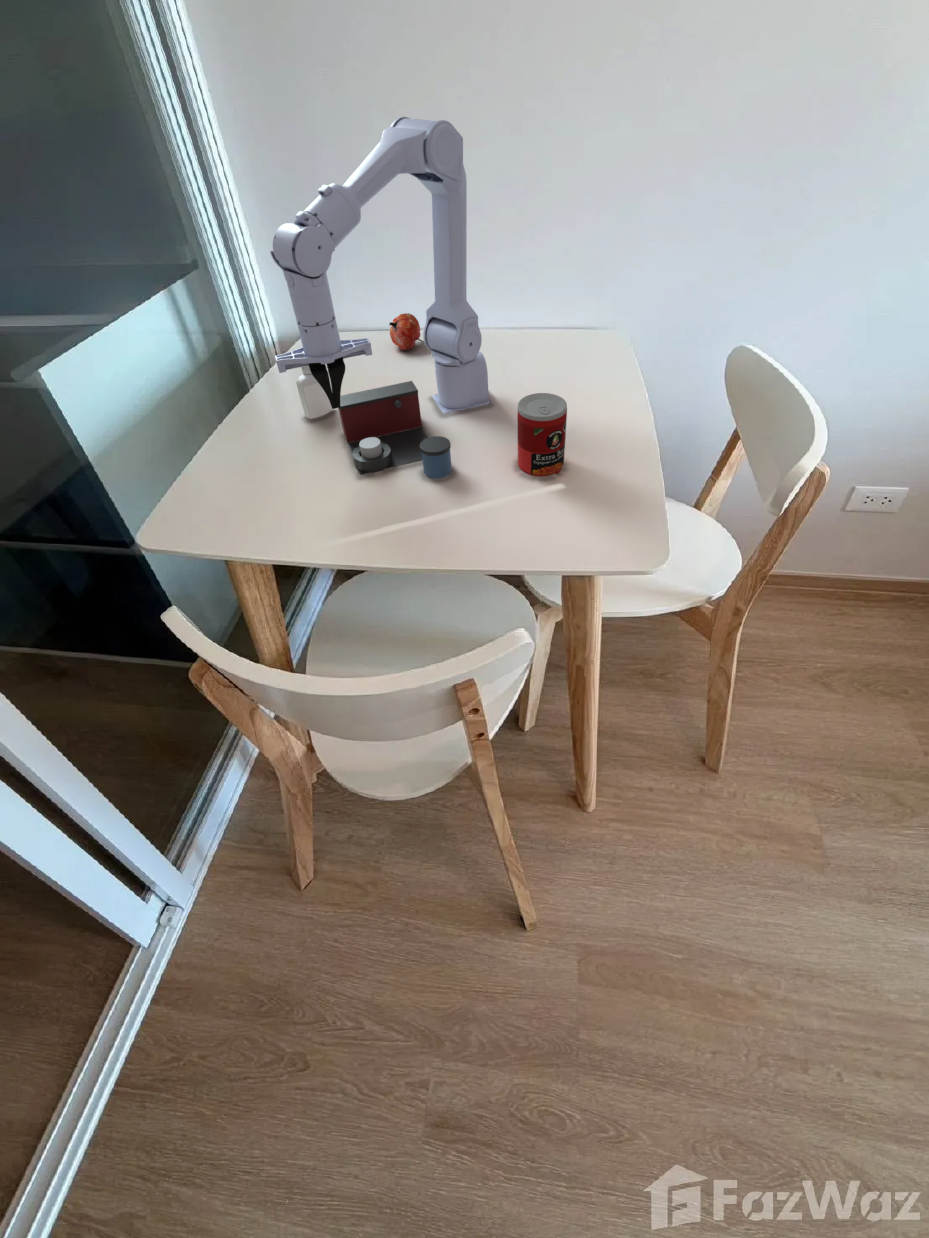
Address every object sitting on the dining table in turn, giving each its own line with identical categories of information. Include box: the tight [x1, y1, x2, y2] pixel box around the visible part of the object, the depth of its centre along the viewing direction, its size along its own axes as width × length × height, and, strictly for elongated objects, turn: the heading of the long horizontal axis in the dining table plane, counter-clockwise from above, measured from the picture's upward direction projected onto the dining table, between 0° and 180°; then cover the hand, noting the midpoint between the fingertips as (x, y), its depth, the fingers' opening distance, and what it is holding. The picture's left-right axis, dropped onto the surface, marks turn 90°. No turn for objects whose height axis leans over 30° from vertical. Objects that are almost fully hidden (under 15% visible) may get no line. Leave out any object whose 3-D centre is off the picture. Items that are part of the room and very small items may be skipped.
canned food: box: [516, 392, 568, 477], centre depth 100 cm, size 8×8×11 cm
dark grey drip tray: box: [347, 426, 429, 476], centre depth 109 cm, size 11×14×3 cm
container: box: [420, 435, 453, 479], centre depth 102 cm, size 5×5×6 cm
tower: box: [337, 380, 423, 444], centre depth 112 cm, size 5×14×8 cm, turn 108°
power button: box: [359, 437, 382, 458], centre depth 105 cm, size 4×4×2 cm
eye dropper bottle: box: [296, 366, 334, 420], centre depth 117 cm, size 4×6×12 cm
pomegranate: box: [388, 312, 424, 351], centre depth 138 cm, size 7×7×10 cm
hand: (335, 405), depth 101 cm, fingers closed
